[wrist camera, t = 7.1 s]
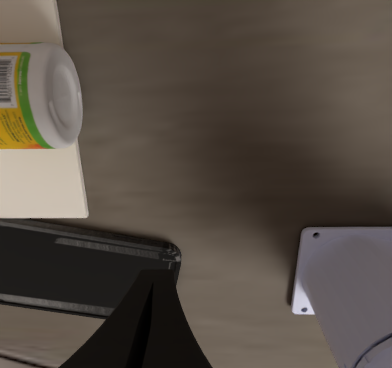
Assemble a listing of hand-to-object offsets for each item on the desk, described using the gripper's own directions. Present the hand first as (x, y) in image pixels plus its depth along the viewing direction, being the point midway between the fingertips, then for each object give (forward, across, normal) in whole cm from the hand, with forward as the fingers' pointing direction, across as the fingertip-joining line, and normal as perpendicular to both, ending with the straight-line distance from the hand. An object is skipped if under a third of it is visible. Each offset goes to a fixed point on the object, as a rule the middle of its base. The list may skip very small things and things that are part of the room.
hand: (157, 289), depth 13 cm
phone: (+11, +7, +7) cm, 15 cm away
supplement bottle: (+7, +5, -6) cm, 11 cm away
